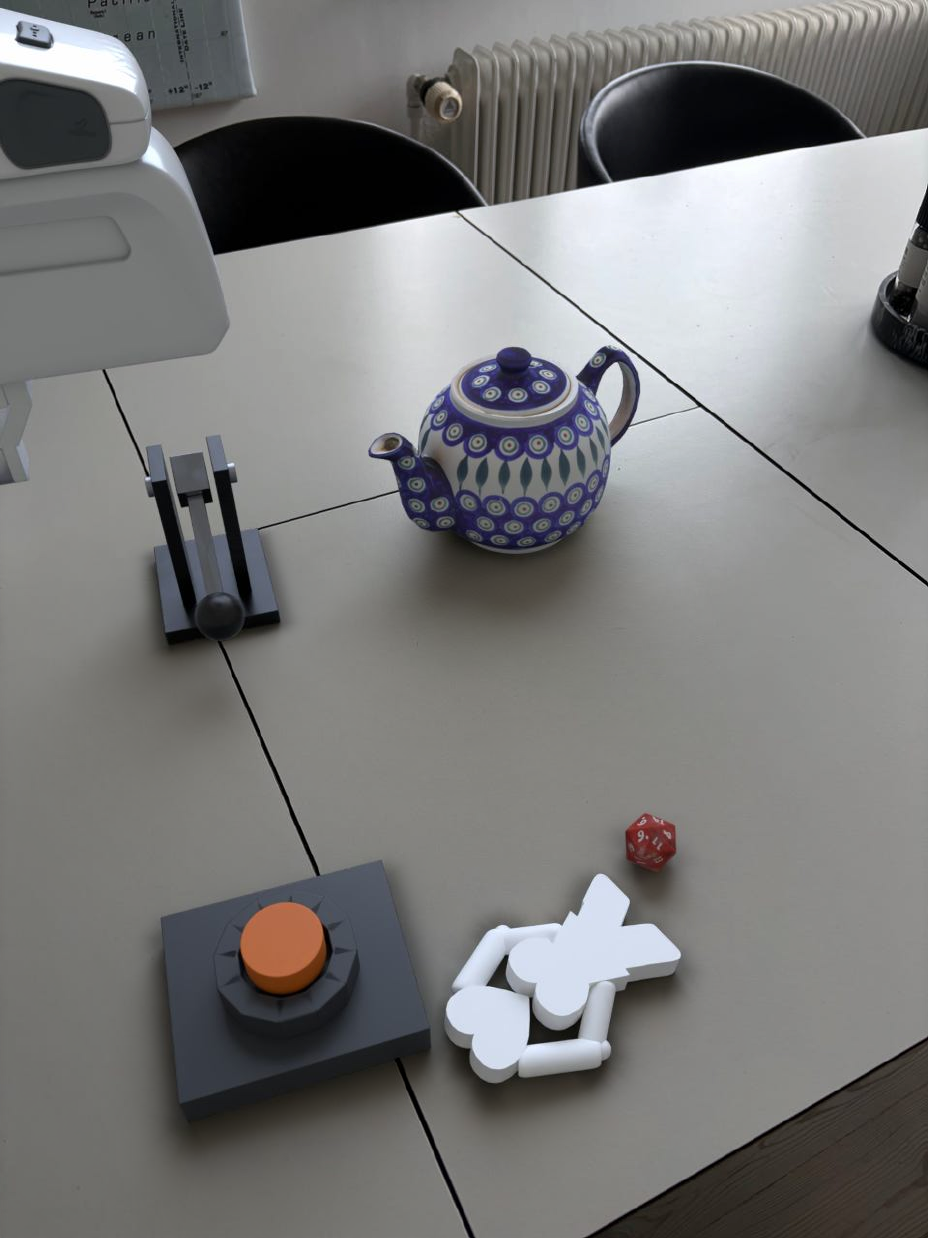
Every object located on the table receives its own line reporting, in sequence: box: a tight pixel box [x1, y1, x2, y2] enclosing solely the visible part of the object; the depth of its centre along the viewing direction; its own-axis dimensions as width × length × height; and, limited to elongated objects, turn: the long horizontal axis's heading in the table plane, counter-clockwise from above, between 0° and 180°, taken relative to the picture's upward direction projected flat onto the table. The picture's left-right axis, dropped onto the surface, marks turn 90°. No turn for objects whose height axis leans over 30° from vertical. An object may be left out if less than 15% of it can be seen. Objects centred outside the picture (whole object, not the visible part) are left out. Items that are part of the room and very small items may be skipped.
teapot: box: [367, 345, 641, 555], centre depth 77 cm, size 25×15×15 cm, turn 122°
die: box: [624, 812, 677, 873], centre depth 57 cm, size 3×3×3 cm
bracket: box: [143, 434, 281, 646], centre depth 71 cm, size 10×8×12 cm
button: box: [240, 902, 326, 994], centre depth 49 cm, size 4×4×2 cm
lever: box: [169, 451, 245, 642], centre depth 67 cm, size 13×3×3 cm, turn 17°
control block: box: [160, 859, 432, 1123], centre depth 51 cm, size 12×10×4 cm
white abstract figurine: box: [443, 873, 682, 1084], centre depth 52 cm, size 9×12×2 cm
